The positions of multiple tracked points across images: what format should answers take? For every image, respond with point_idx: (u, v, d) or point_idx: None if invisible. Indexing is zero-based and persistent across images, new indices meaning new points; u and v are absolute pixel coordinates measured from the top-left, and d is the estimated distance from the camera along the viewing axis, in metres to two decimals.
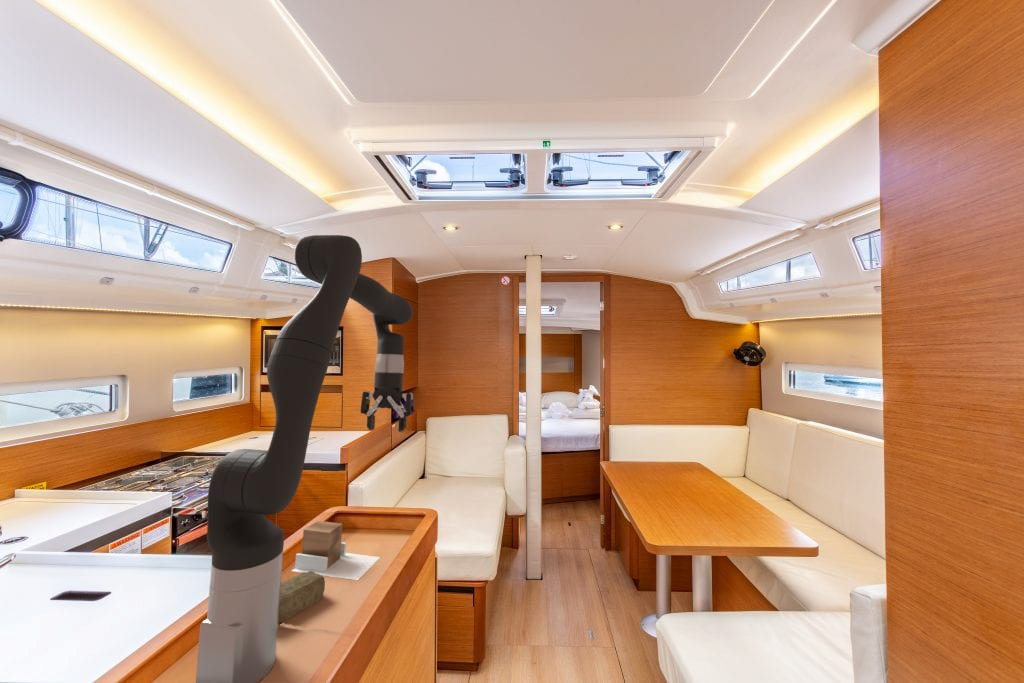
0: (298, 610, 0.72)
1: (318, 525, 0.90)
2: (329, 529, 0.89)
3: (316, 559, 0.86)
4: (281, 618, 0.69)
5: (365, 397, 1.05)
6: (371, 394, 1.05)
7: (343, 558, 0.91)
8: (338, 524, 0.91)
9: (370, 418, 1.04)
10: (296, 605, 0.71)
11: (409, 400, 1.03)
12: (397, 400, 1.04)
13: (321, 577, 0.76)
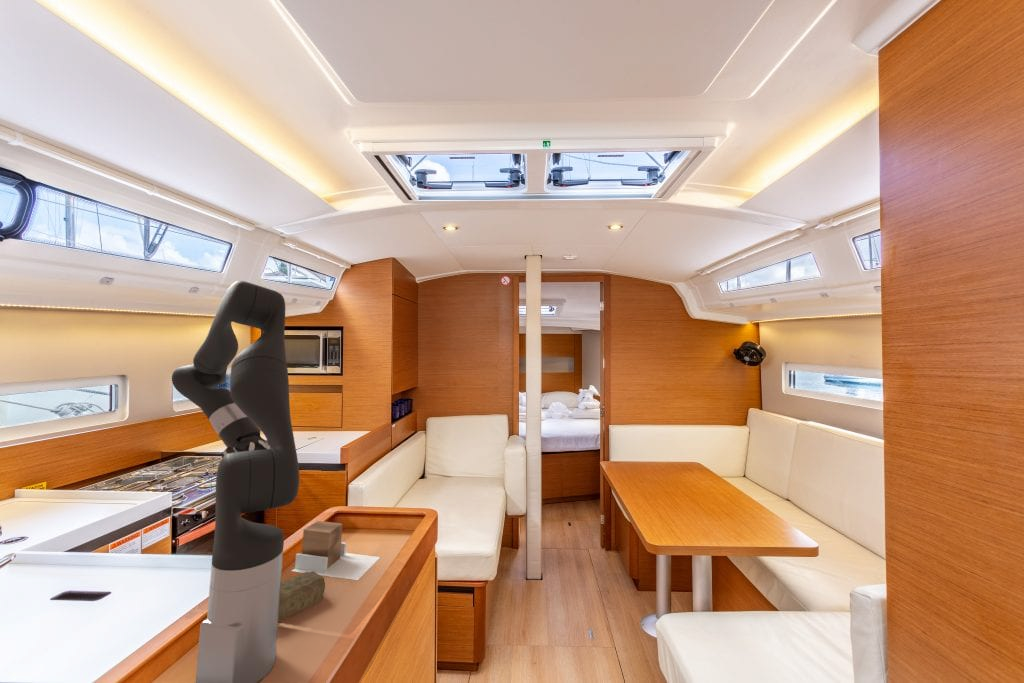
0: (296, 611, 0.71)
1: (318, 525, 0.90)
2: (329, 529, 0.89)
3: (316, 559, 0.86)
4: (278, 618, 0.69)
5: (234, 451, 0.89)
6: (234, 449, 0.90)
7: (343, 558, 0.91)
8: (338, 524, 0.91)
9: None
10: (293, 606, 0.71)
11: None
12: None
13: (321, 578, 0.76)
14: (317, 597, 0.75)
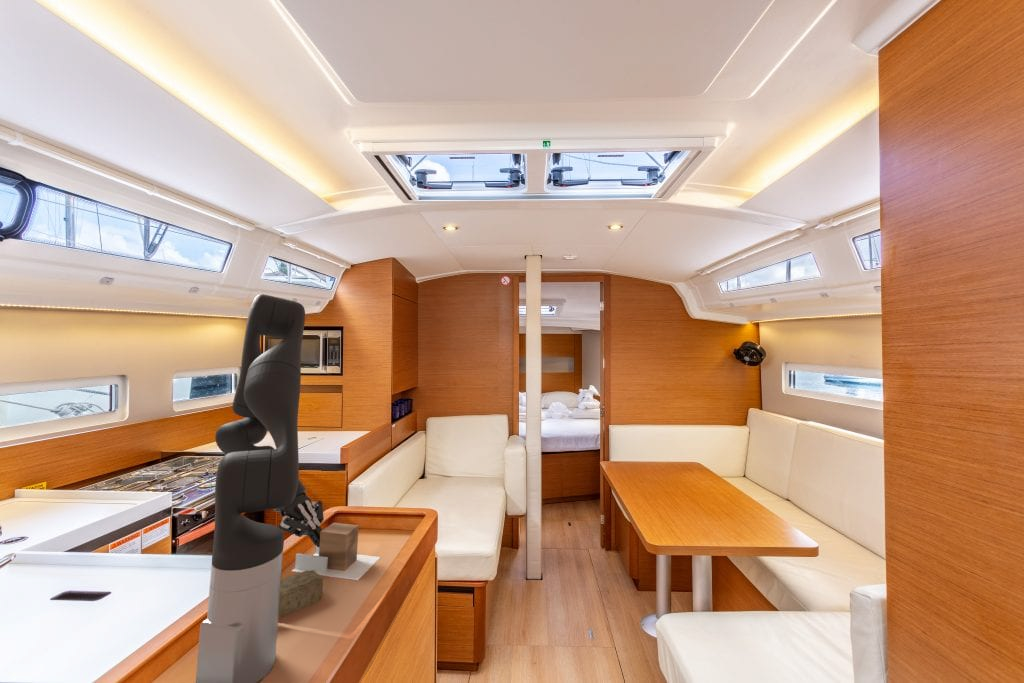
0: (292, 609, 0.72)
1: (334, 527, 0.90)
2: (346, 531, 0.88)
3: (316, 559, 0.86)
4: None
5: (292, 520, 0.86)
6: (287, 516, 0.87)
7: None
8: (354, 526, 0.91)
9: (317, 530, 0.90)
10: (290, 604, 0.72)
11: (321, 507, 0.96)
12: None
13: (319, 578, 0.76)
14: (314, 597, 0.75)
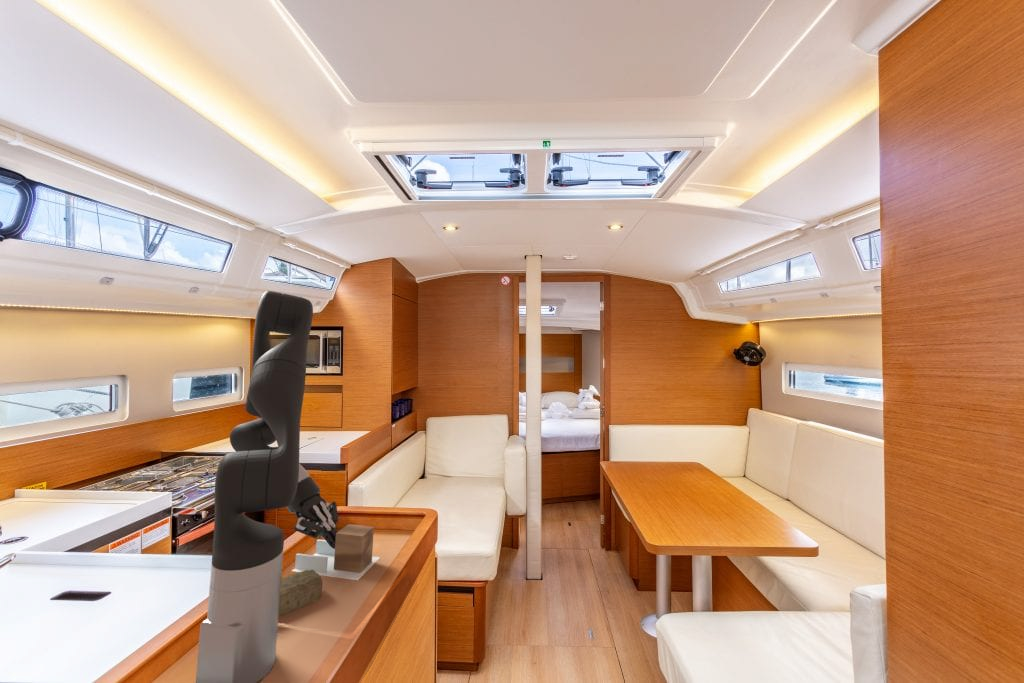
0: (291, 609, 0.72)
1: (350, 528, 0.89)
2: (362, 533, 0.87)
3: (316, 559, 0.86)
4: None
5: (307, 521, 0.86)
6: (302, 517, 0.86)
7: None
8: (370, 527, 0.90)
9: (332, 531, 0.89)
10: (289, 604, 0.72)
11: (335, 508, 0.95)
12: (326, 510, 0.93)
13: (318, 577, 0.76)
14: (314, 596, 0.75)
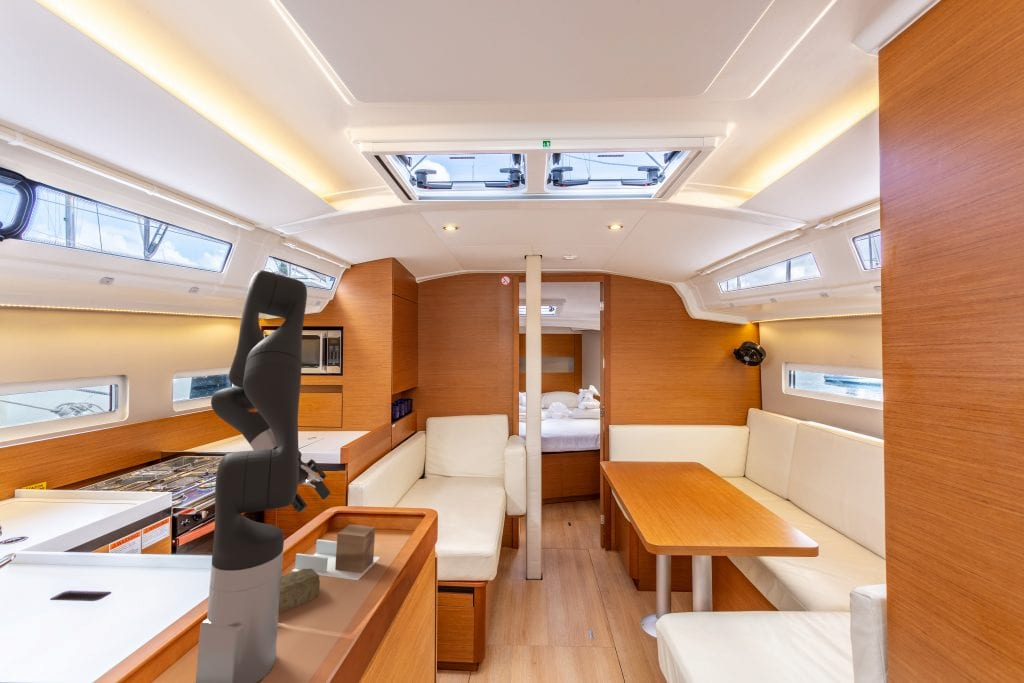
0: (289, 607, 0.72)
1: (351, 528, 0.89)
2: (363, 533, 0.87)
3: (316, 559, 0.86)
4: None
5: None
6: None
7: None
8: (371, 528, 0.90)
9: (298, 495, 0.87)
10: (286, 602, 0.72)
11: (316, 464, 0.98)
12: None
13: (316, 576, 0.77)
14: (311, 595, 0.75)
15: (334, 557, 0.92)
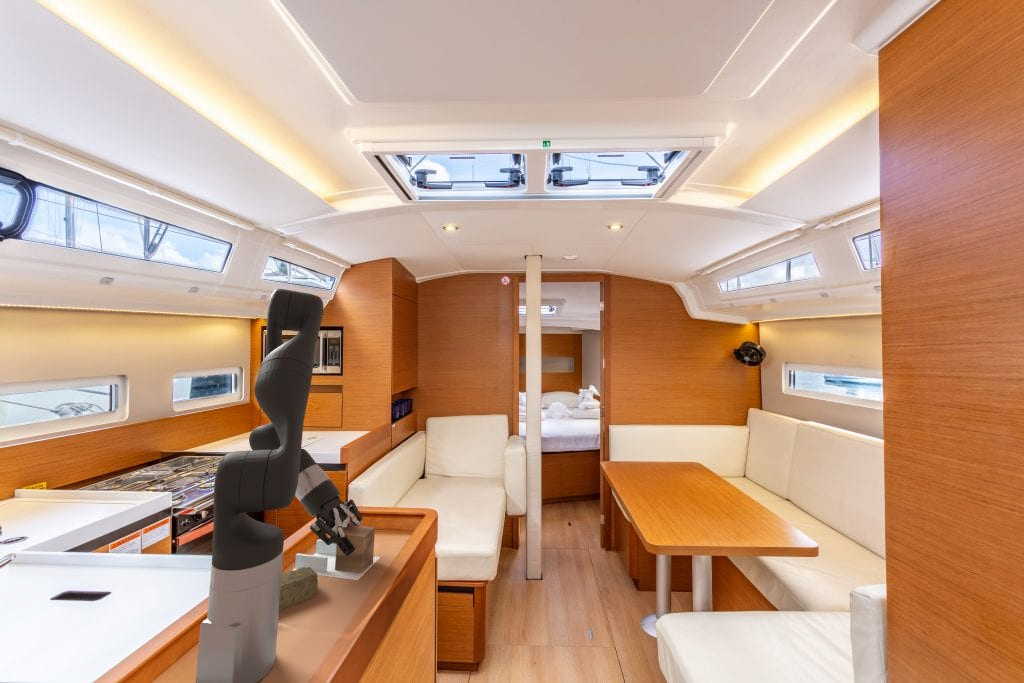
0: (286, 605, 0.73)
1: (351, 529, 0.89)
2: (363, 533, 0.87)
3: (316, 559, 0.86)
4: None
5: (323, 523, 0.84)
6: (321, 519, 0.85)
7: None
8: (371, 528, 0.90)
9: (346, 538, 0.86)
10: (284, 600, 0.73)
11: (355, 505, 0.96)
12: None
13: (313, 574, 0.77)
14: (309, 593, 0.76)
15: (334, 557, 0.92)
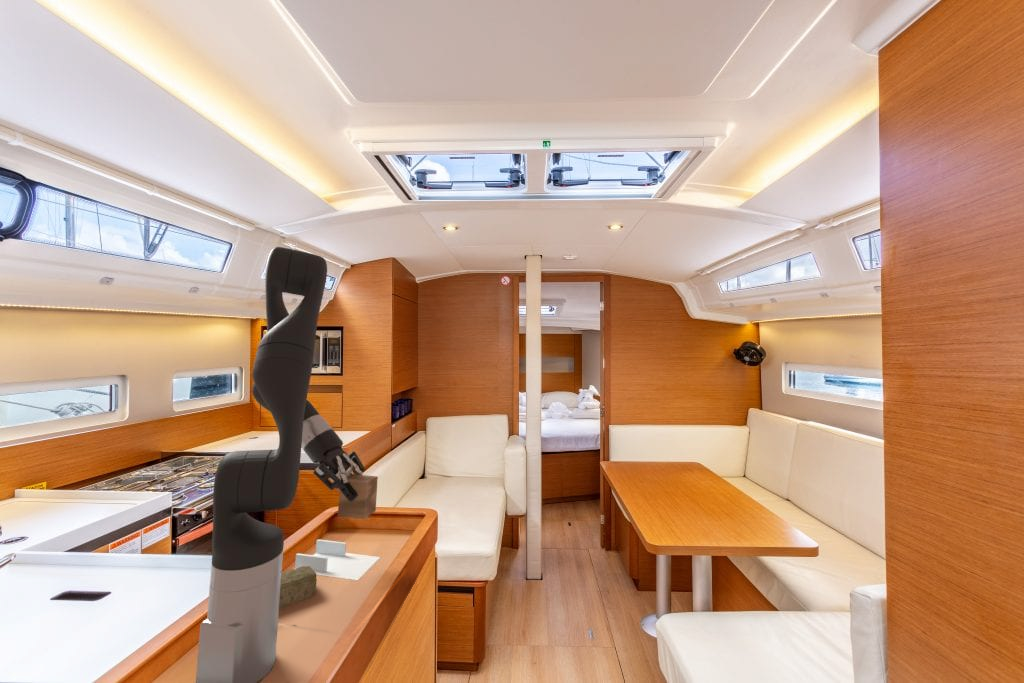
0: (285, 604, 0.73)
1: (354, 477, 0.90)
2: (366, 480, 0.88)
3: (316, 559, 0.86)
4: None
5: (327, 467, 0.85)
6: (324, 464, 0.86)
7: (343, 558, 0.91)
8: (374, 476, 0.91)
9: (349, 484, 0.87)
10: (283, 599, 0.73)
11: (357, 457, 0.96)
12: None
13: (312, 574, 0.77)
14: (308, 592, 0.76)
15: (334, 557, 0.92)
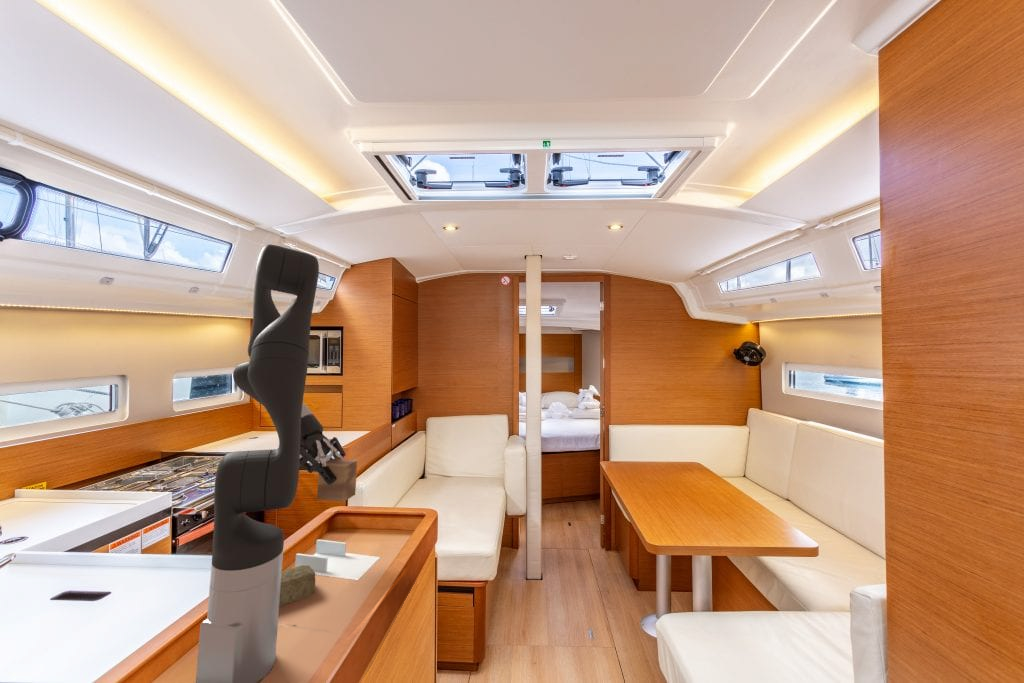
0: (284, 602, 0.74)
1: (333, 461, 0.91)
2: (345, 464, 0.89)
3: (316, 559, 0.86)
4: None
5: (305, 451, 0.86)
6: (303, 448, 0.87)
7: (343, 558, 0.91)
8: (353, 461, 0.92)
9: (328, 467, 0.88)
10: (281, 598, 0.73)
11: (338, 442, 0.97)
12: None
13: (311, 573, 0.78)
14: (306, 591, 0.76)
15: (334, 557, 0.92)
